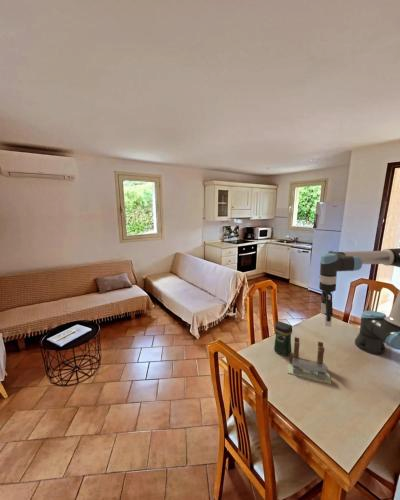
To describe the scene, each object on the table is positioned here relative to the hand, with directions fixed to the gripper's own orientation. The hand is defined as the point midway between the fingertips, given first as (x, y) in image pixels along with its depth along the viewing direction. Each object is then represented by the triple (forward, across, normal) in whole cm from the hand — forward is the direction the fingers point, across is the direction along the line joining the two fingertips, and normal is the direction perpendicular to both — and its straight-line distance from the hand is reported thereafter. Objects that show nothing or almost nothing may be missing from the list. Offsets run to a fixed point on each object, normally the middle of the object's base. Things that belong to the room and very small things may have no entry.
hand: (325, 320), depth 119 cm
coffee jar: (+26, -3, -22) cm, 34 cm away
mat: (+26, +12, -9) cm, 30 cm away
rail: (+23, +12, -9) cm, 27 cm away
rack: (+26, +4, -8) cm, 28 cm away
